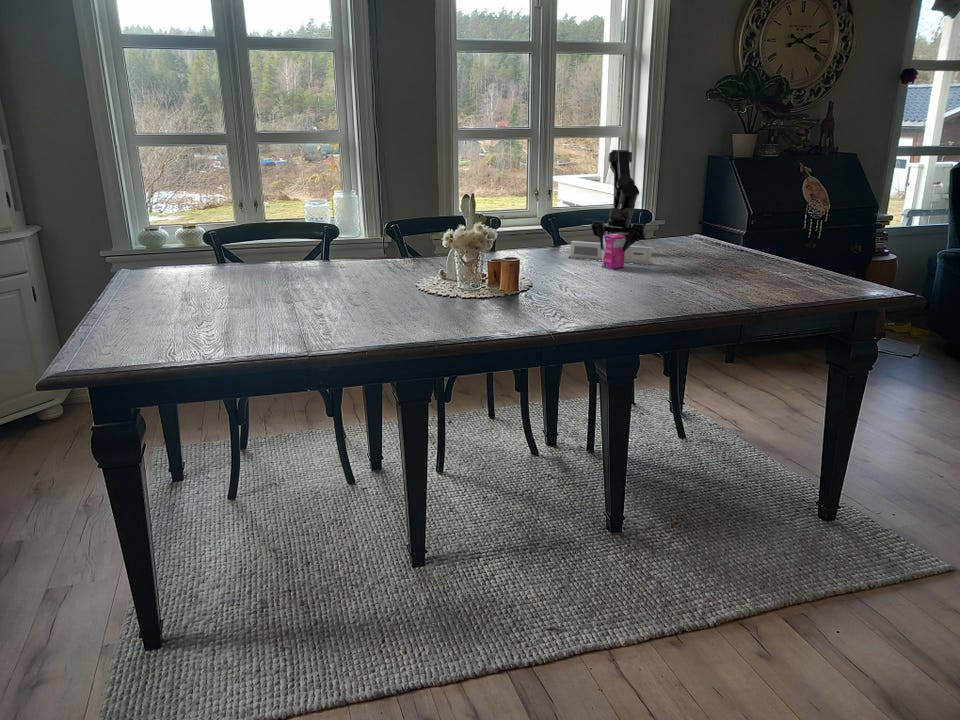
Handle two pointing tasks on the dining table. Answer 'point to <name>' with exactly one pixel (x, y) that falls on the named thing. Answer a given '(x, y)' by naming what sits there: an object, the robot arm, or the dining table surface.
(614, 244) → the supplement box
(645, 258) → the panel
